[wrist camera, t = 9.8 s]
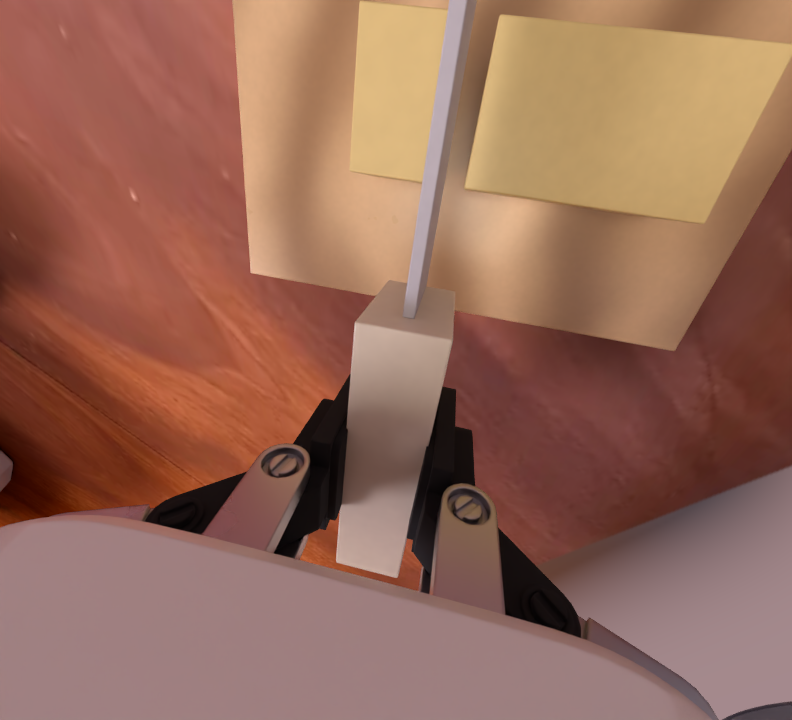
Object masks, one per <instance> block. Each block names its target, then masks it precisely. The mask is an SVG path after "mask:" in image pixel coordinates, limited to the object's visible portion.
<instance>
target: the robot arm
mask: <svg viewBox="0 0 792 720" xmlns="http://www.w3.org/2000/svg"><path fill="white" fill-rule="evenodd" d="M350 377H351V374H350V375H349V377H348V379H347V380H346V382H345V383H344V385H343V387H342V388H341V390H340V392H339V393H338V395H337V397H336V398H335V400H334V401H333V400H329V399H323V400H322V401H321V403H320V404H319V406H318V407H317V409H316V410H315V412H314V413H313V415H312V416H311V418H310V419H309V421H308V422H307V424H306V425H305V427H304V428H303V430H302V431H301V433H300V434H299V436H298V437H297V439H296V440H295V442H294V443H293V444H287V443H286V444H278V445H275V446H272V447H269V448H268V449H266V450H264V451H263V452H262V453H261V454H260V455H259V456H258V457H257V459H256V460H255V462H254V463H253V464H252V466H251V467H250V468H249V470H248V471H247V472H245V473H242V474H239V475H236V476H233V477H230V478H227V479H224V480H221V481H218V482H215V483H212V484H209V485H206V486H204V487H201V488H198V489H195V490H192V491H189V492H186V493H183V494H180V495H177V496H174V497H172V498H170V499H168V500H165V501H164V502H162V503H161V504H159V505H158V506H157V507H155V508H151V509H150V506H149V504H146V505H136V506H126V507H117V508H107V509H97V510H88V511H78V512H68V513H62V514H57V515H53V516H50V517H46V518H38V519H32V520H27V521H22V522H18V523H14V524H10V525H6V526H4V527H1V528H0V720H718V718H717V716H716V715H715V713H714V711H713V710H712V708H711V706H710V705H709V703H708V702H707V701H706V700H705V699H704V697H703V696H702V695H701V694H700V693H699V692H698V691H697V689H696V688H695V687H693V686H692V685H691V684H690V683H688V682H687V681H686V680H685V679H683V678H682V677H681V676H679V675H678V674H676V673H674V672H673V671H671V670H670V669H668V668H667V667H665V666H664V665H662V664H660V663H659V662H658V661H656V660H654V659H653V658H651V657H650V656H648V655H647V654H645V653H644V652H642V651H640V650H639V649H637V648H636V647H634V646H633V645H631V644H630V643H628V642H627V641H625V640H624V639H622V638H620V637H619V636H617V635H615V634H614V633H613V632H611V631H610V630H608V629H606V628H605V627H603V626H602V625H600V624H599V623H597V622H596V621H594V620H593V619H591V618H589V619H588V620H587V621H585V620H584V619H582V618H581V617H579V616H578V615H577V613H576V611H575V610H574V608H573V606H572V604H571V603H570V602H569V600H568V599H567V598H566V597H565V596H564V594H563V593H562V592H561V591H560V590H559V589H558V588H557V587H556V586H555V585H554V584H553V583H552V582H551V581H550V580H549V579H548V578H547V577H546V576H545V575H544V574H543V573H542V572H541V571H540V570H539V569H538V568H537V567H536V566H535V565H534V564H533V563H532V562H531V561H530V560H529V559H528V558H527V557H526V555H525V554H524V553H523V552H522V551H521V550H520V549H519V548H518V547H517V546H516V545H515V544H514V543H513V542H512V541H511V540H510V539H509V538H508V537H507V536H506V535H505V534H504V533H503V532H502V531H501V530H500V529H499V528H498V522H497V512H496V508H495V505H494V503H493V501H492V500H491V498H490V497H489V496H488V495H487V494H486V493H485V492H484V491H482V490H481V489H479V488H477V487H475V478H474V457H473V437H472V431H471V430H469V429H464V428H459V427H455V407H456V389H451V388H446V387H442V390H441V395H440V399H439V403H438V407H437V412H436V416H435V420H434V425H433V429H432V433H431V437H430V442H429V446H426V450H425V455H424V459H423V463H422V468H421V472H420V476H419V481H418V485H417V489H416V494H415V498H414V502H413V507H412V511H411V515H410V519H409V525H408V532H407V538H408V539H412V540H413V544H412V552H414V554H415V556H416V557H417V558H418V560H419V561H420V562H421V564H422V565H423V566H422V569H421V576H420V584H419V591H415V590H411V589H407V588H404V587H400V586H396V585H393V584H389V583H385V582H381V581H377V580H374V579H370V578H366V577H362V576H358V575H354V574H351V573H347V572H343V571H339V570H335V569H332V568H328V567H324V566H320V565H316V564H312V563H309V562H305V561H301V560H300V557H301V555H302V552H303V550H304V548H305V545H306V543H307V540H308V536H309V534H310V533H312V532H314V531H316V530H318V529H319V528H320V529H323V530H326V528H327V525H328V523H329V520H330V519H331V520H336V518H337V516H338V513H339V510H340V508H341V505H342V495H343V484H344V472H345V460H346V448H347V436H348V429H347V415H348V402H349V389H350Z"/></svg>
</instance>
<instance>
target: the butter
mask: <svg viewBox="0 0 792 720" xmlns="http://www.w3.org/2000/svg"><path fill="white" fill-rule="evenodd" d="M791 58H792V43H784V42H774V41H764V40H754V39H744V38H734V37H724V36H714V35H704V34H694V33H684V32H674V31H664V30H654V29H644V28H634V27H624V26H614V25H604V24H594V23H584V22H574V21H564V20H554V19H544V18H534V17H524V16H514V15H504V14H502V15H500V16H499V19H498V24H497V29H496V34H495V38H494V43H493V48H492V53H491V57H490V62H489V67H488V72H487V77H486V82H485V87H484V91H483V96H482V101H481V106H480V111H479V116H478V121H477V126H476V131H475V136H474V141H473V145H472V150H471V155H470V160H469V165H468V170H467V175H466V180H465V185H464V190H467V191H474V192H481V193H487V194H494V195H501V196H507V197H514V198H520V199H527V200H534V201H540V202H547V203H554V204H560V205H567V206H574V207H580V208H587V209H594V210H600V211H607V212H613V213H620V214H627V215H633V216H640V217H647V218H655V219H663V220H671V221H679V222H687V223H694V224H704V223H705V222H706V220H707V218H708V216H709V214H710V212H711V210H712V208H713V207H714V205H715V203H716V201H717V199H718V197H719V195H720V193H721V191H722V189H723V187H724V186H725V184H726V182H727V180H728V178H729V176H730V174H731V172H732V170H733V168H734V166H735V165H736V163H737V161H738V159H739V157H740V155H741V153H742V151H743V149H744V147H745V145H746V144H747V142H748V140H749V138H750V136H751V134H752V132H753V130H754V128H755V126H756V125H757V123H758V121H759V119H760V117H761V115H762V113H763V111H764V109H765V107H766V105H767V104H768V102H769V100H770V98H771V96H772V94H773V92H774V90H775V88H776V86H777V84H778V83H779V81H780V79H781V77H782V75H783V73H784V71H785V69H786V67H787V65H788V63H789V62H790V60H791Z"/></svg>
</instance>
